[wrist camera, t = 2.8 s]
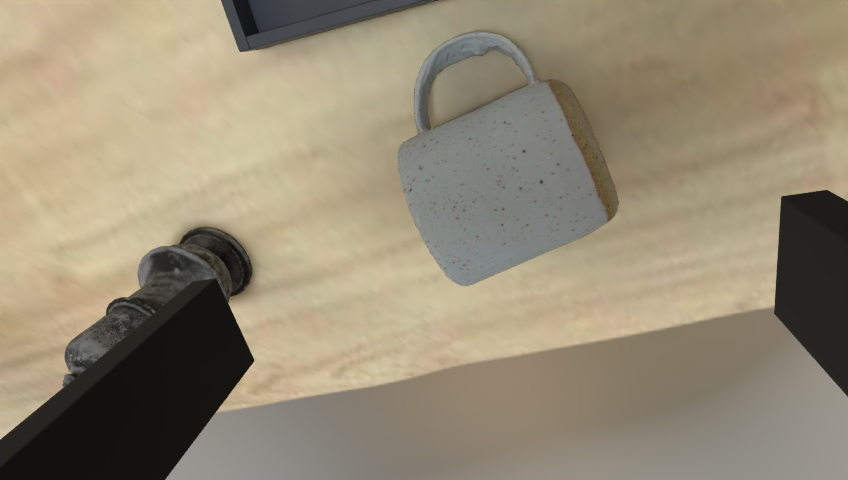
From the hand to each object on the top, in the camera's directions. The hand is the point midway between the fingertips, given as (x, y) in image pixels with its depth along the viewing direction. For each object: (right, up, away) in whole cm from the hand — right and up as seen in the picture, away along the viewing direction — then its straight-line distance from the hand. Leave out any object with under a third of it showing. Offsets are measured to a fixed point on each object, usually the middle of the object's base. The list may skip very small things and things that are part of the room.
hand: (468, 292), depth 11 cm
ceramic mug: (+3, +7, +14) cm, 16 cm away
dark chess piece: (-15, 0, +21) cm, 26 cm away
